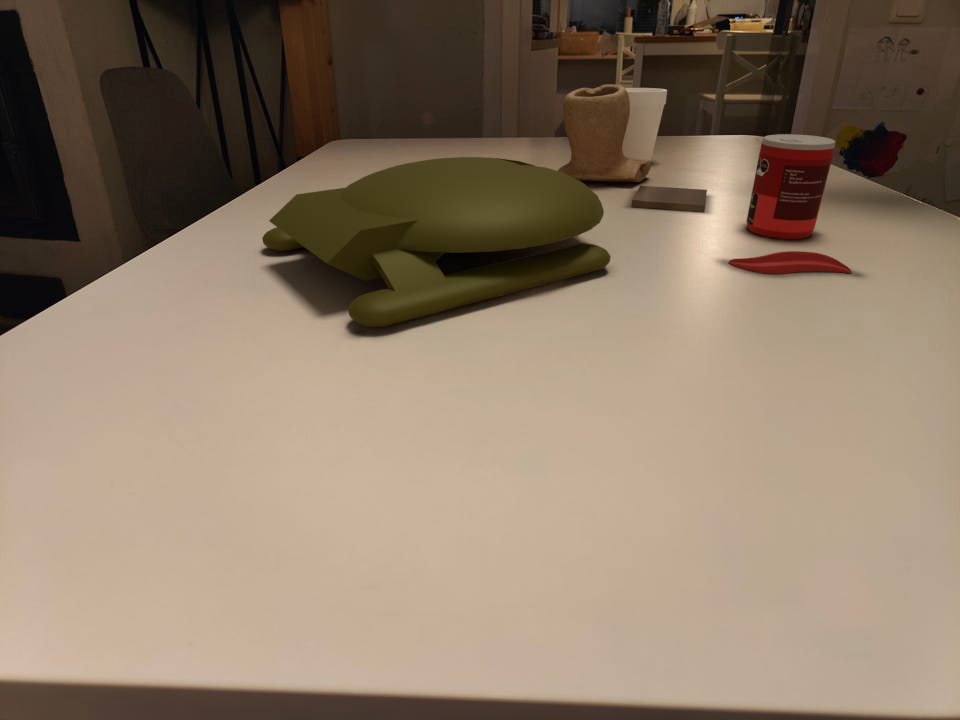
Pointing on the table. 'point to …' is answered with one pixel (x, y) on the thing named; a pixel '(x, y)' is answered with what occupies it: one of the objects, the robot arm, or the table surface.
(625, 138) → the foam cup
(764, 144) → the canned food
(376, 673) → the table surface
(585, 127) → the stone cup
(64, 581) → the table surface
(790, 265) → the cayenne pepper
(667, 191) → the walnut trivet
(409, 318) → the spaceship
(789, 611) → the table surface
